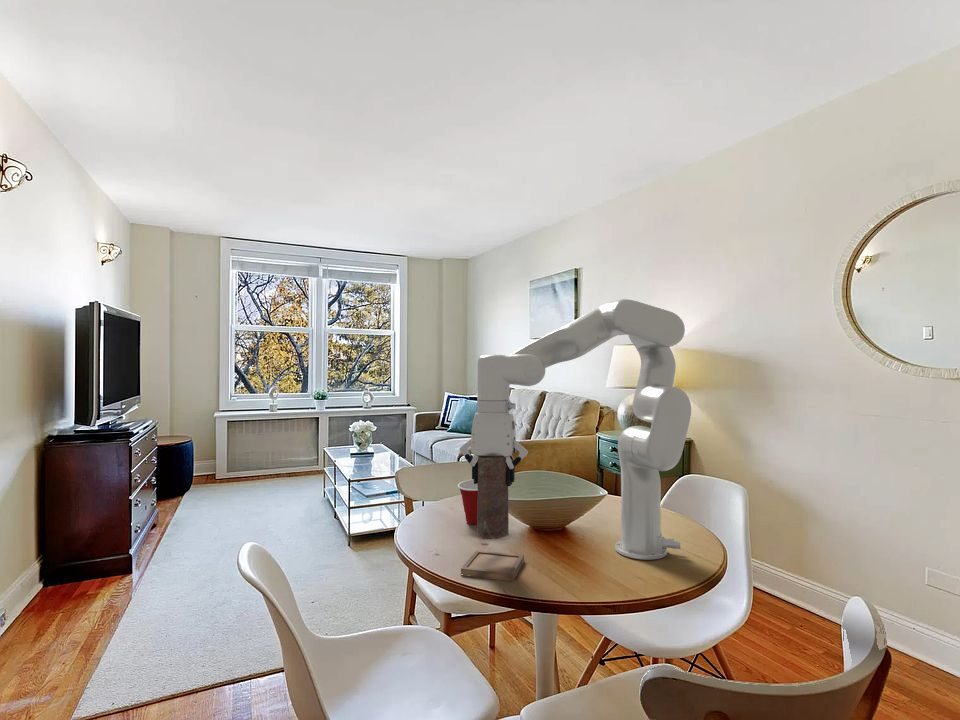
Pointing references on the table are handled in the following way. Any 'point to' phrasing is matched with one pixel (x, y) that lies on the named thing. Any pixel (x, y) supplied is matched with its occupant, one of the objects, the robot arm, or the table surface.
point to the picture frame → (493, 565)
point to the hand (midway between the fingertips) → (493, 483)
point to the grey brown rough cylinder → (492, 498)
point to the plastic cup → (469, 500)
